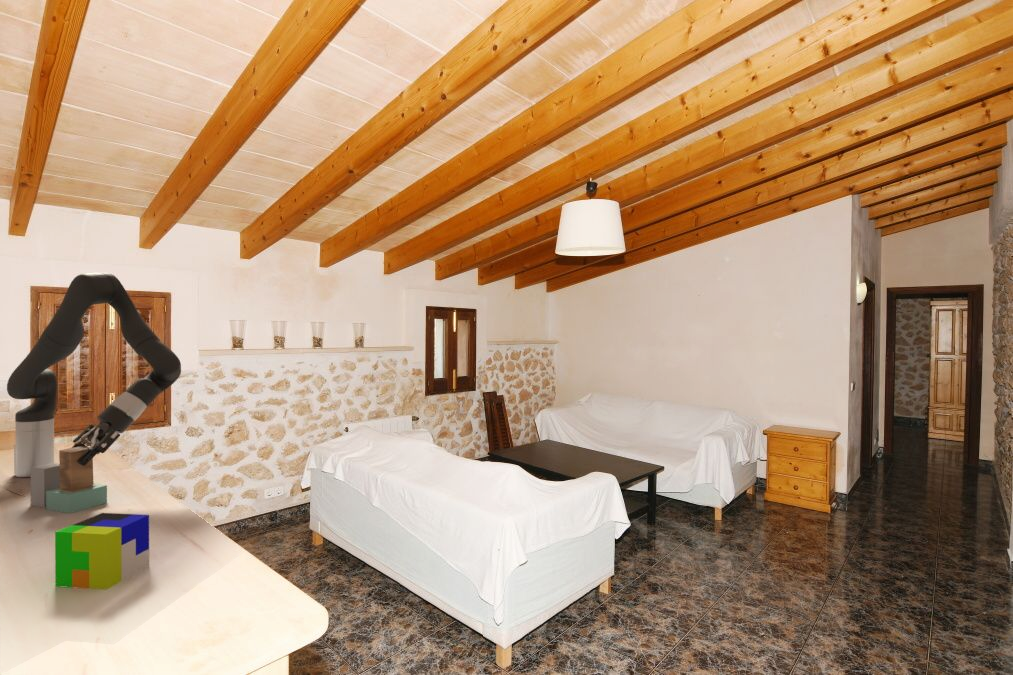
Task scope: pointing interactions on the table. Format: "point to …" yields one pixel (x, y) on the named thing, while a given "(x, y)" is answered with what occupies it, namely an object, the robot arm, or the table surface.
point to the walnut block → (75, 469)
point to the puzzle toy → (101, 550)
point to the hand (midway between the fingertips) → (72, 461)
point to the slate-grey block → (43, 482)
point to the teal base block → (76, 498)
